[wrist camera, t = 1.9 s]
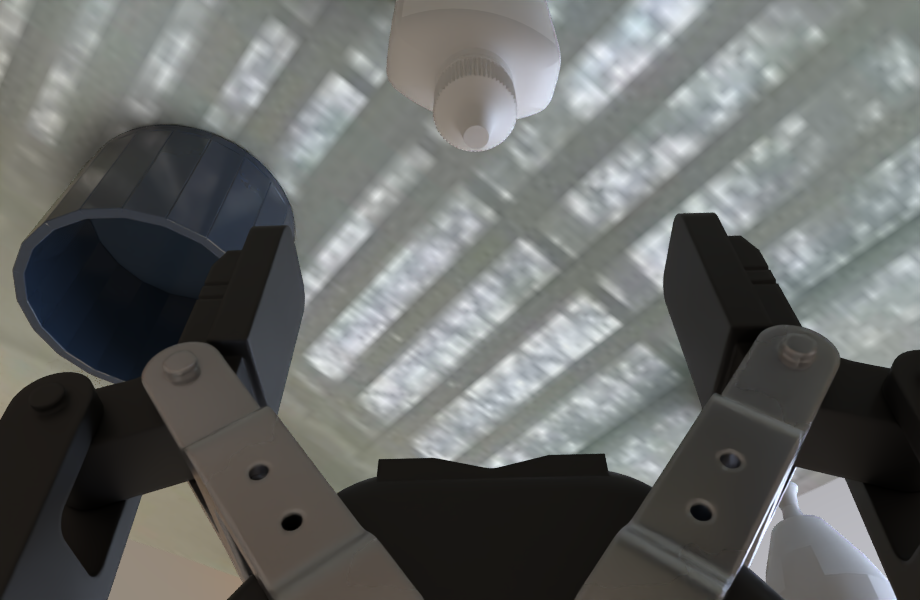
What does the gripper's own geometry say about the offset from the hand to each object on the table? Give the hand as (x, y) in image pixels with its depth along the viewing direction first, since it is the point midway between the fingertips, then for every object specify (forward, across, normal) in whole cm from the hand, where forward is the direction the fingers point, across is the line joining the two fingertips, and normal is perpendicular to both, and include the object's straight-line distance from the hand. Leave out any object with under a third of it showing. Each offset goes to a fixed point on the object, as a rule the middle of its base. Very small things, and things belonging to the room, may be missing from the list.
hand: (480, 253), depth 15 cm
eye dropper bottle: (+18, 0, 0) cm, 18 cm away
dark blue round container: (+17, +14, +10) cm, 24 cm away
